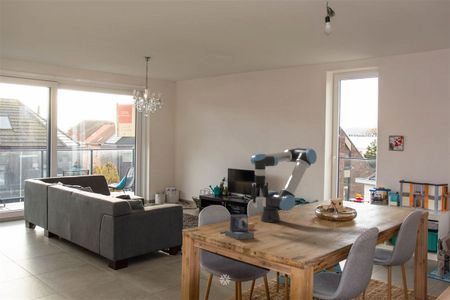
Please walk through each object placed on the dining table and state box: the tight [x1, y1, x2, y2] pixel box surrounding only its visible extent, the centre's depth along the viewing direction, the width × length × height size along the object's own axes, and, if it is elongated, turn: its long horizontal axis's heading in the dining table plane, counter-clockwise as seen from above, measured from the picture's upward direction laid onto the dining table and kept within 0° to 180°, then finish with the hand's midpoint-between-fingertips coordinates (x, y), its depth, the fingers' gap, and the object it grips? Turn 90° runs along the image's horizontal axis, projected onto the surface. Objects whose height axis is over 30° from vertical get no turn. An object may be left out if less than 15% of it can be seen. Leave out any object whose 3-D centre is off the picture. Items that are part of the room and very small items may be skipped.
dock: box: [219, 229, 255, 241], centre depth 258 cm, size 12×21×3 cm, turn 36°
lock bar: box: [248, 222, 256, 231], centre depth 272 cm, size 13×3×4 cm, turn 126°
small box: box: [229, 213, 249, 232], centre depth 255 cm, size 11×6×10 cm, turn 106°
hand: (259, 206), depth 279 cm, fingers open, 8 cm apart
